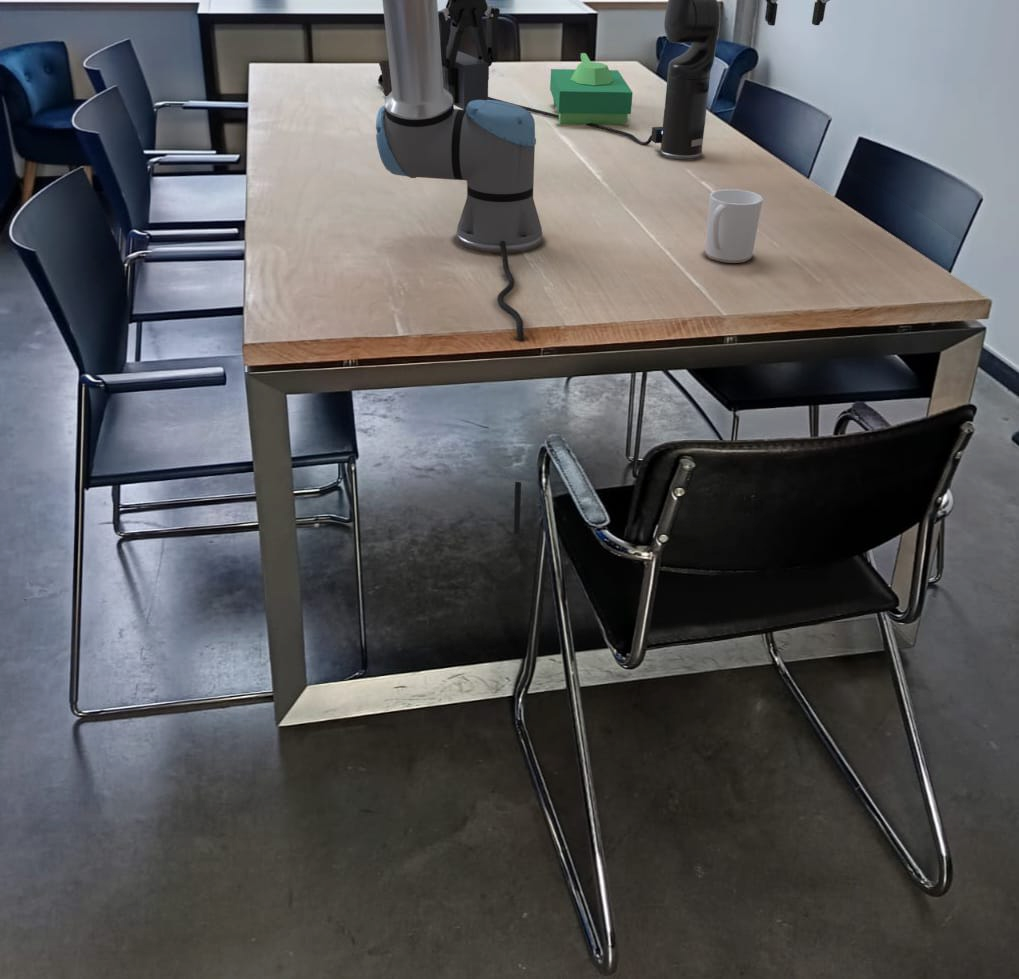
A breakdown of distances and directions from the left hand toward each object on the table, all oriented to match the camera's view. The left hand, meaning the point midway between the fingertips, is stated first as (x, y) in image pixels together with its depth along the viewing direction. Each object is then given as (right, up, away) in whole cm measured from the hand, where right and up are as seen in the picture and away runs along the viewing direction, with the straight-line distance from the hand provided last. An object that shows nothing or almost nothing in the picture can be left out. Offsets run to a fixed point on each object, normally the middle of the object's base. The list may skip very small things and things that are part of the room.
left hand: (467, 100), depth 221 cm
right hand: (+60, +6, -21) cm, 64 cm away
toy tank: (+28, +19, +62) cm, 71 cm away
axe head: (-21, +31, +80) cm, 88 cm away
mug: (+46, -38, -30) cm, 67 cm away
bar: (-4, +3, +6) cm, 8 cm away
